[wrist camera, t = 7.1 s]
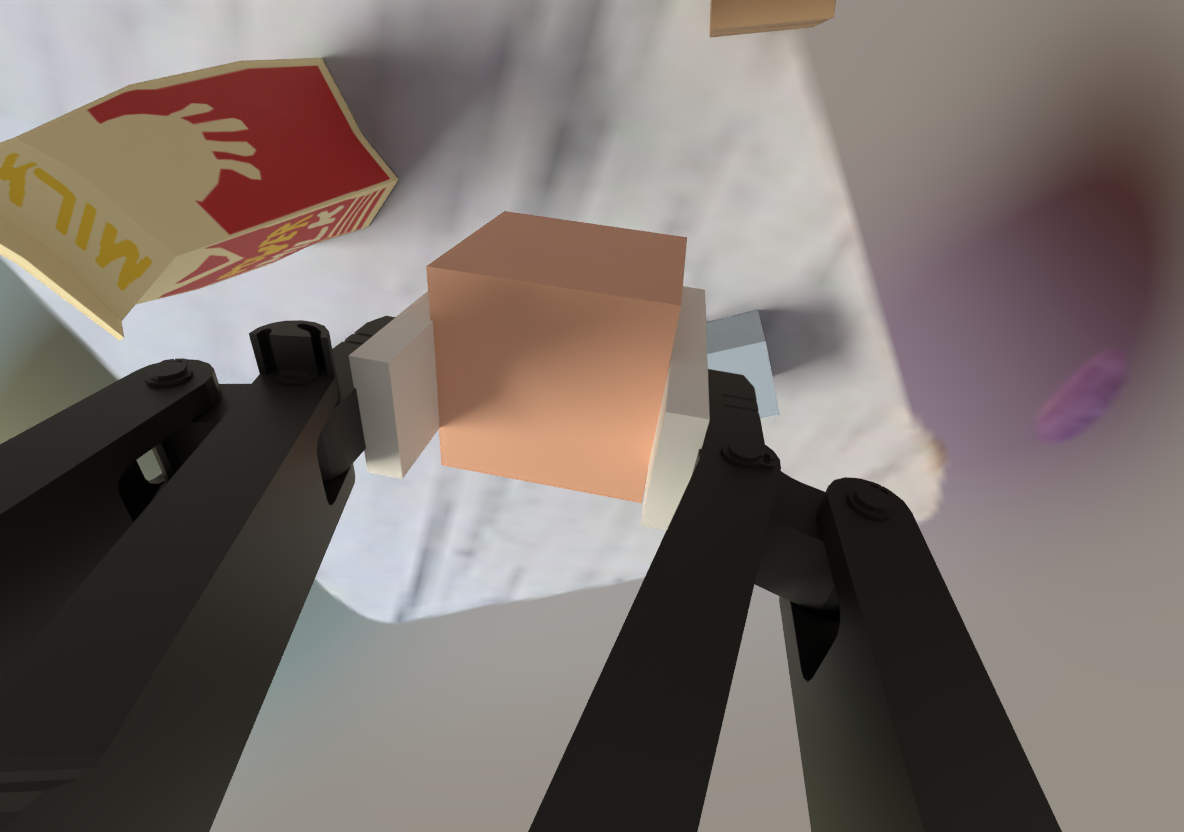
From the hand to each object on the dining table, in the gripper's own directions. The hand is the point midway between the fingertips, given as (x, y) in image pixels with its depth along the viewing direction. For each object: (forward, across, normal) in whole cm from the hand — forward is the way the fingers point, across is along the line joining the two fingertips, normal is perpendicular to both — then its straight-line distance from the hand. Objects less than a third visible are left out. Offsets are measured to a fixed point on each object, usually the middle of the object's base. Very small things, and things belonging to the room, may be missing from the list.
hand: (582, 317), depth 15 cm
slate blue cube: (+20, +7, -9) cm, 23 cm away
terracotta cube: (0, 0, 0) cm, 0 cm away
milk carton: (+20, -21, -1) cm, 29 cm away
